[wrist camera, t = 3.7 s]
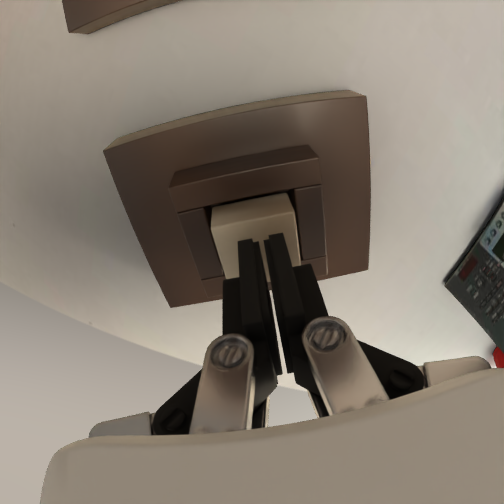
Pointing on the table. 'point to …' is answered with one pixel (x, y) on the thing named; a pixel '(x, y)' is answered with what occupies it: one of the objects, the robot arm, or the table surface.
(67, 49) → the table surface
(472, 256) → the synthesizer keyboard
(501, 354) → the plastic cup
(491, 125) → the table surface
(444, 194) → the table surface
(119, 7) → the key block
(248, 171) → the key block
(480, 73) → the table surface
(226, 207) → the key ivory
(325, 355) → the robot arm
